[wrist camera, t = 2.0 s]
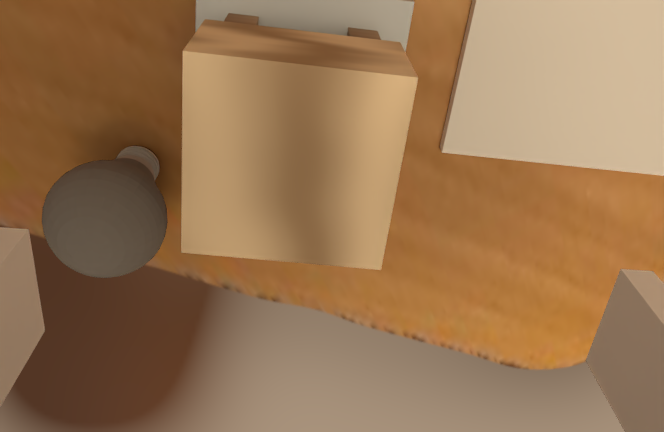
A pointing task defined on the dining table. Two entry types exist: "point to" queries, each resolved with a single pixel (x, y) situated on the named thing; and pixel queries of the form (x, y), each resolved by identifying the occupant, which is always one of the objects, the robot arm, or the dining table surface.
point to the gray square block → (319, 15)
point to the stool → (292, 142)
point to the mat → (561, 84)
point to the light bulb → (107, 214)
